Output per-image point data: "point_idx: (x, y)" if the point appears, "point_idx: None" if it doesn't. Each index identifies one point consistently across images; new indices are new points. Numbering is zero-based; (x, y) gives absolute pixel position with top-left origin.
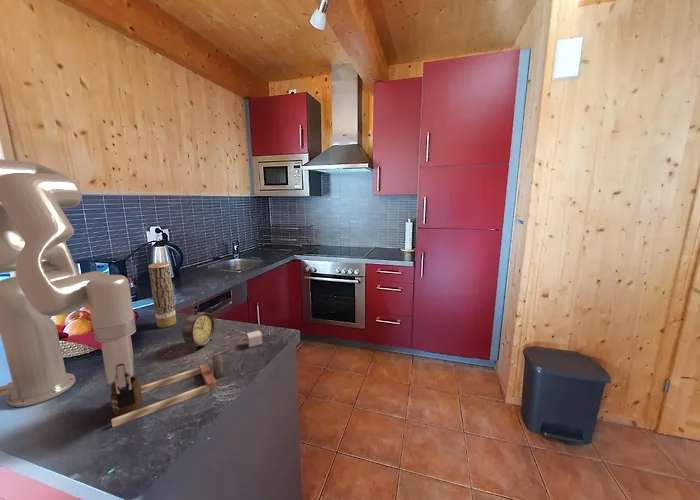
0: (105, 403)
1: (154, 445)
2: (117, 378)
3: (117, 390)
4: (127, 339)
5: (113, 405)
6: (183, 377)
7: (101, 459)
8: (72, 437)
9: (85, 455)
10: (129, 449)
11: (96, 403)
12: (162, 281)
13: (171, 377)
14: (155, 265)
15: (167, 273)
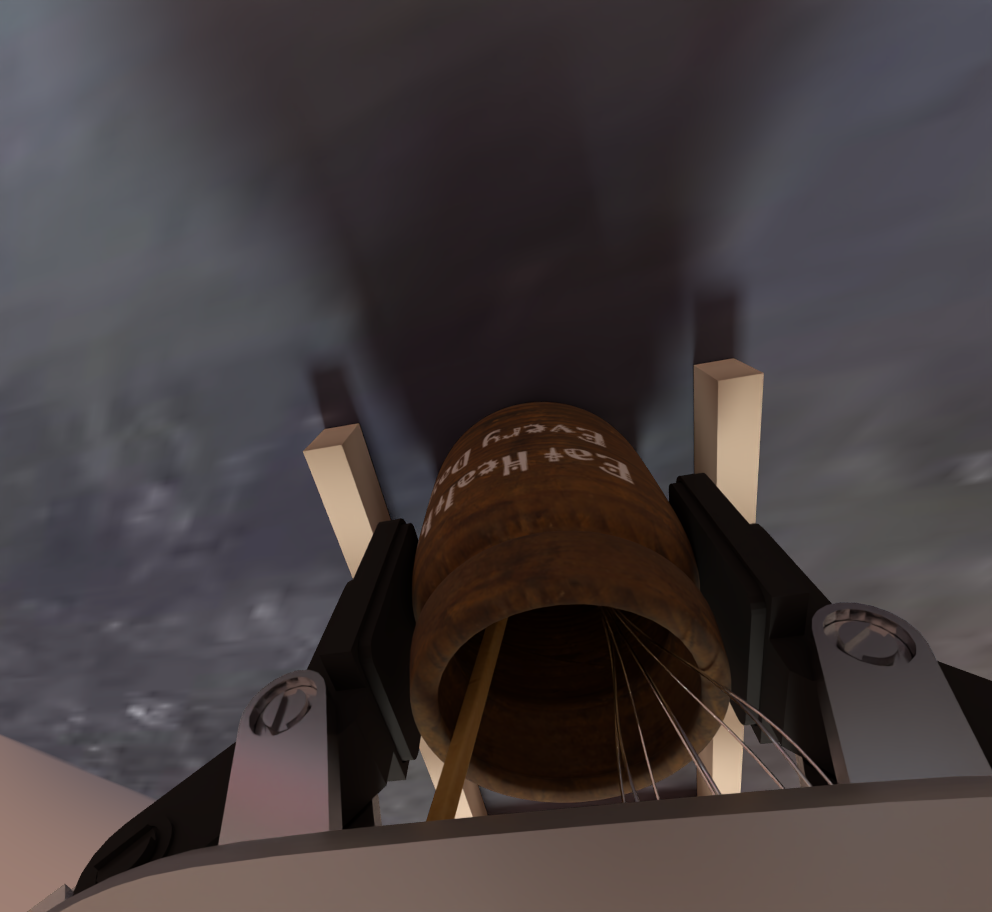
0: (738, 291)
1: (88, 660)
2: (789, 605)
3: (246, 747)
4: None
5: (457, 467)
6: (703, 762)
7: (5, 431)
8: (303, 121)
9: (53, 316)
10: (75, 560)
11: (805, 195)
12: None
13: (724, 740)
14: None
15: None
